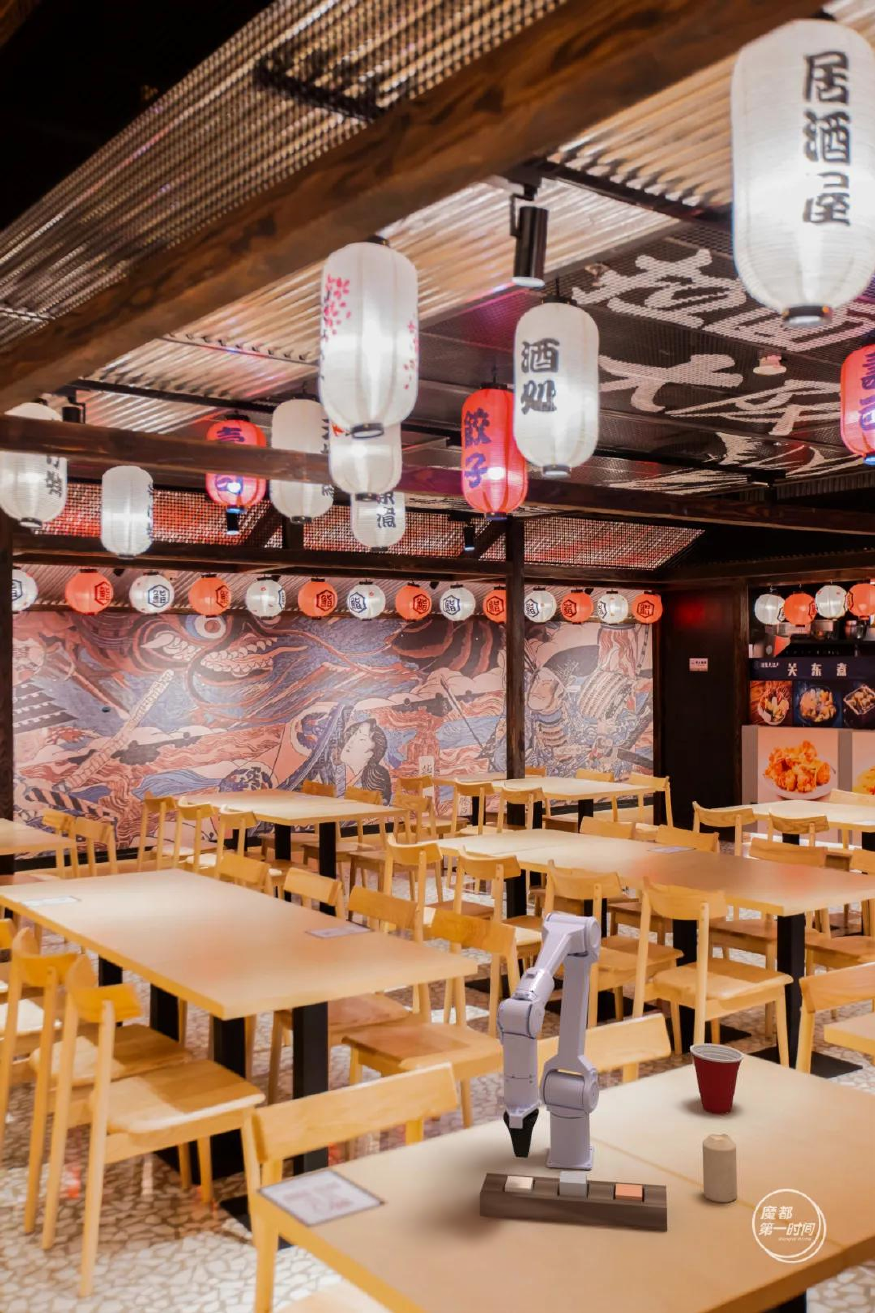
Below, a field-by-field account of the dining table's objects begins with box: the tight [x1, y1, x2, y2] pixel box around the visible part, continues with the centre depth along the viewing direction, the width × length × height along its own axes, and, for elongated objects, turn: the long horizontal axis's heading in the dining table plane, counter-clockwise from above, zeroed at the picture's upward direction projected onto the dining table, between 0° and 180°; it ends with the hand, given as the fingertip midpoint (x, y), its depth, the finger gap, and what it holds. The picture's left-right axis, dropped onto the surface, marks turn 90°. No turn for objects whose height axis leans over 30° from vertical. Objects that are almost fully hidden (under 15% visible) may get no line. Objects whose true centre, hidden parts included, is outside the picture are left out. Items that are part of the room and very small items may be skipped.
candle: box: [702, 1133, 738, 1203], centre depth 184 cm, size 6×6×10 cm
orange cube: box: [615, 1184, 642, 1202], centre depth 177 cm, size 4×4×4 cm
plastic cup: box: [689, 1042, 745, 1115], centre depth 223 cm, size 11×11×12 cm
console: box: [479, 1172, 668, 1231], centre depth 179 cm, size 8×30×4 cm, turn 79°
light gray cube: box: [559, 1170, 588, 1198], centre depth 179 cm, size 4×4×4 cm
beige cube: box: [505, 1176, 533, 1194], centre depth 180 cm, size 4×4×4 cm
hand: (521, 1156), depth 180 cm, fingers closed
